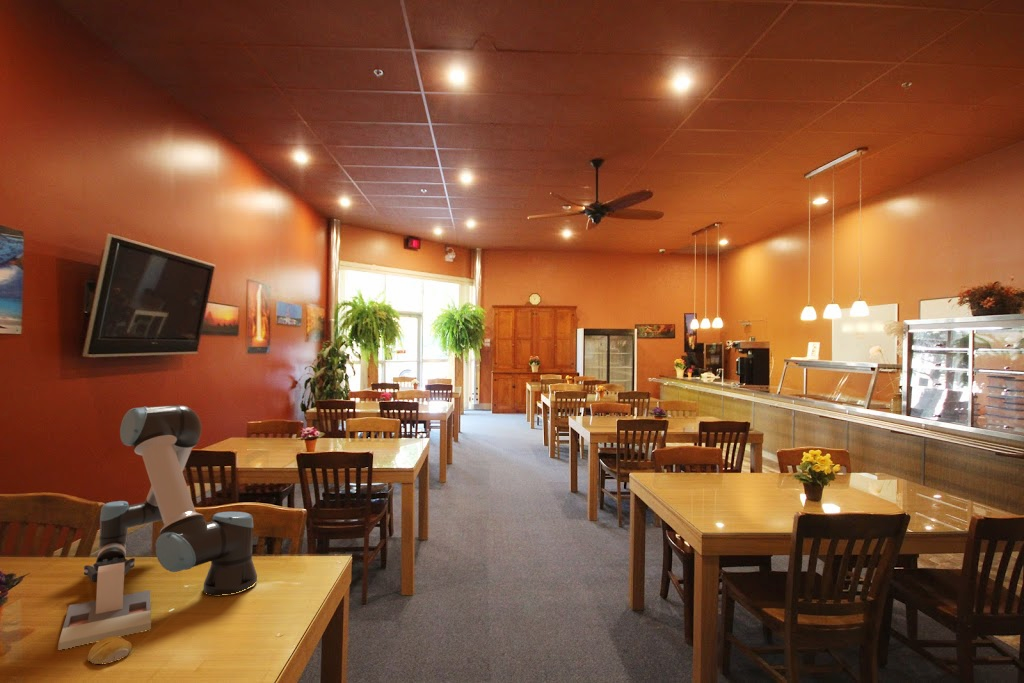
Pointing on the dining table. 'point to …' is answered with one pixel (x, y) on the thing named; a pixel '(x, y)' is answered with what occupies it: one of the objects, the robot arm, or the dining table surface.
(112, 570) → the cream block
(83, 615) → the board
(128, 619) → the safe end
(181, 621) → the dining table surface
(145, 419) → the robot arm
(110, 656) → the bread roll
